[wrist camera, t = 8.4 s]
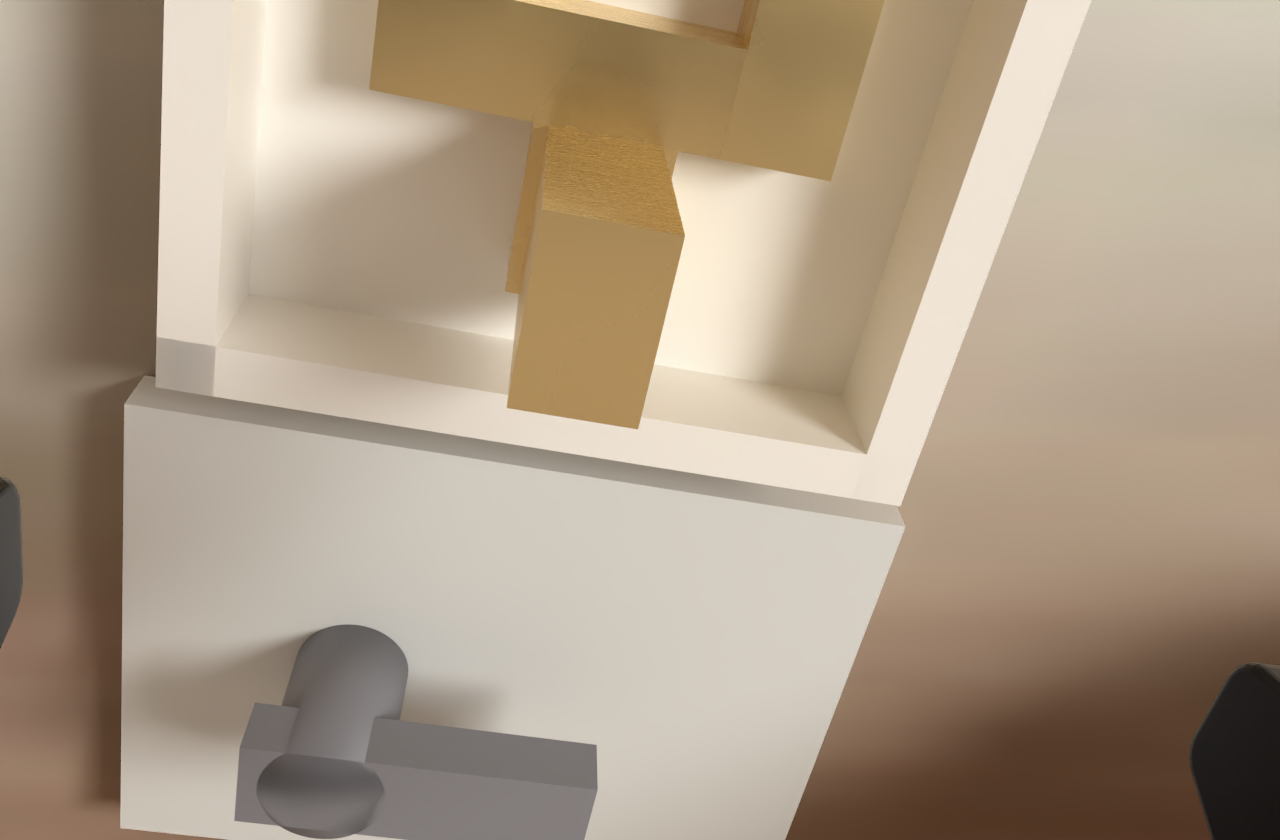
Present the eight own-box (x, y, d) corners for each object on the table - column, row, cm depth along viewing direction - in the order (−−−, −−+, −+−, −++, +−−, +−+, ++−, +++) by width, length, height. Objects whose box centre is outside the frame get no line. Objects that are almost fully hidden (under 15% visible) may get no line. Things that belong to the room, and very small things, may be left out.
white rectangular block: (891, 495, 21) (954, 638, 18) (756, 858, 26) (785, 1030, 22) (144, 375, 19) (49, 508, 16) (137, 789, 24) (61, 965, 20)
